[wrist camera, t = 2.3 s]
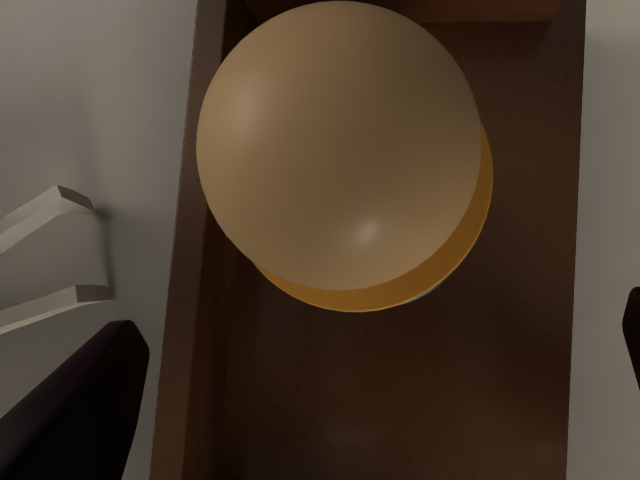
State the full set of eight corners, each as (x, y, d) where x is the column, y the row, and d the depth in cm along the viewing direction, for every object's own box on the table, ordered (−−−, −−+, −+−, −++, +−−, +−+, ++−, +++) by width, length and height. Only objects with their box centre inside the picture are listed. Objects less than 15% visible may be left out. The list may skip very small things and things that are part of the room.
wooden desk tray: (538, 656, 18) (588, 815, 12) (205, 588, 20) (126, 697, 15) (566, 28, 19) (621, -71, 14) (256, 32, 22) (202, -51, 16)
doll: (459, 311, 17) (541, 362, 5) (301, 297, 18) (78, 314, 6) (468, 152, 17) (564, -129, 6) (313, 147, 18) (124, -98, 7)
